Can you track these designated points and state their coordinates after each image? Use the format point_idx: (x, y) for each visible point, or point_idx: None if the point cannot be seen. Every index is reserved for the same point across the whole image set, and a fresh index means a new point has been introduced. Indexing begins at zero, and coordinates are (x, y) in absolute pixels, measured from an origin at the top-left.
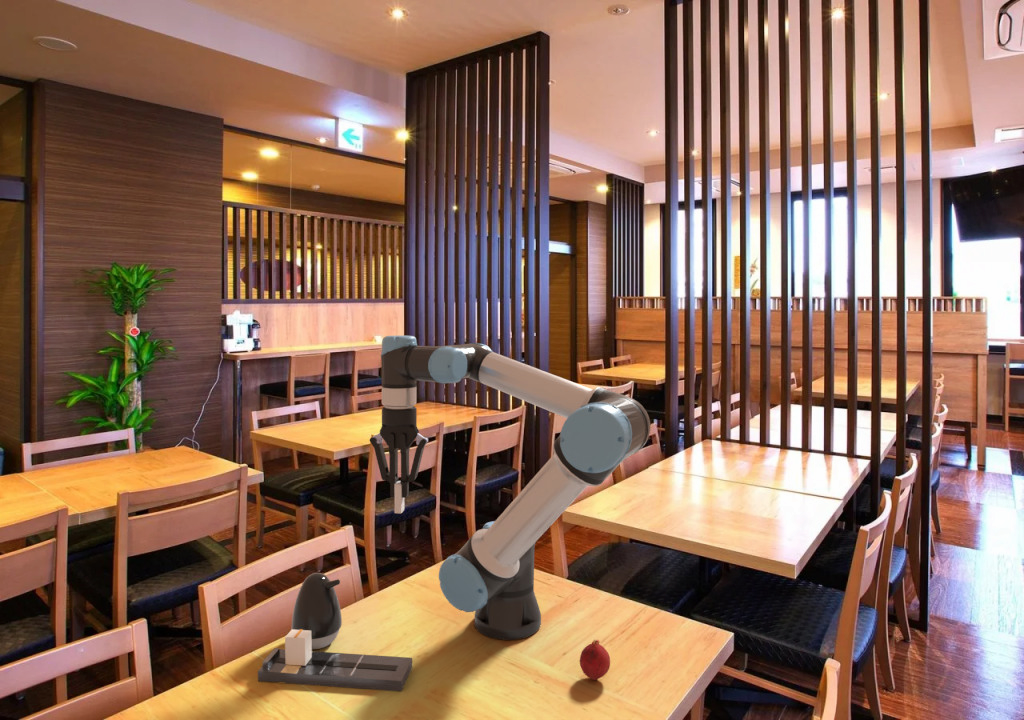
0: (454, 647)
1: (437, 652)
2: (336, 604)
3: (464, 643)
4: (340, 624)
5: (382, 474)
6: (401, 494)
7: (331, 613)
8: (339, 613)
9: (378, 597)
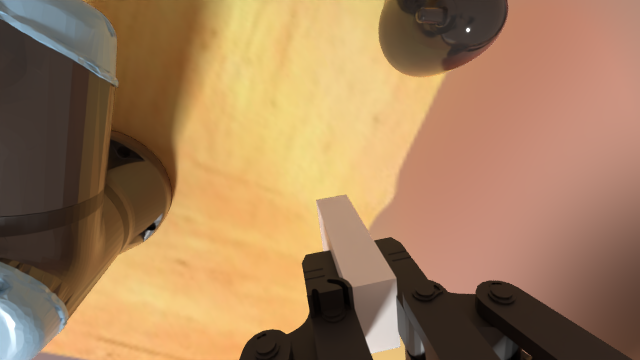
0: (163, 80)
1: (185, 54)
2: (402, 25)
3: (151, 99)
4: (380, 36)
5: (534, 310)
6: (333, 253)
7: (401, 3)
8: (390, 34)
9: (371, 208)
